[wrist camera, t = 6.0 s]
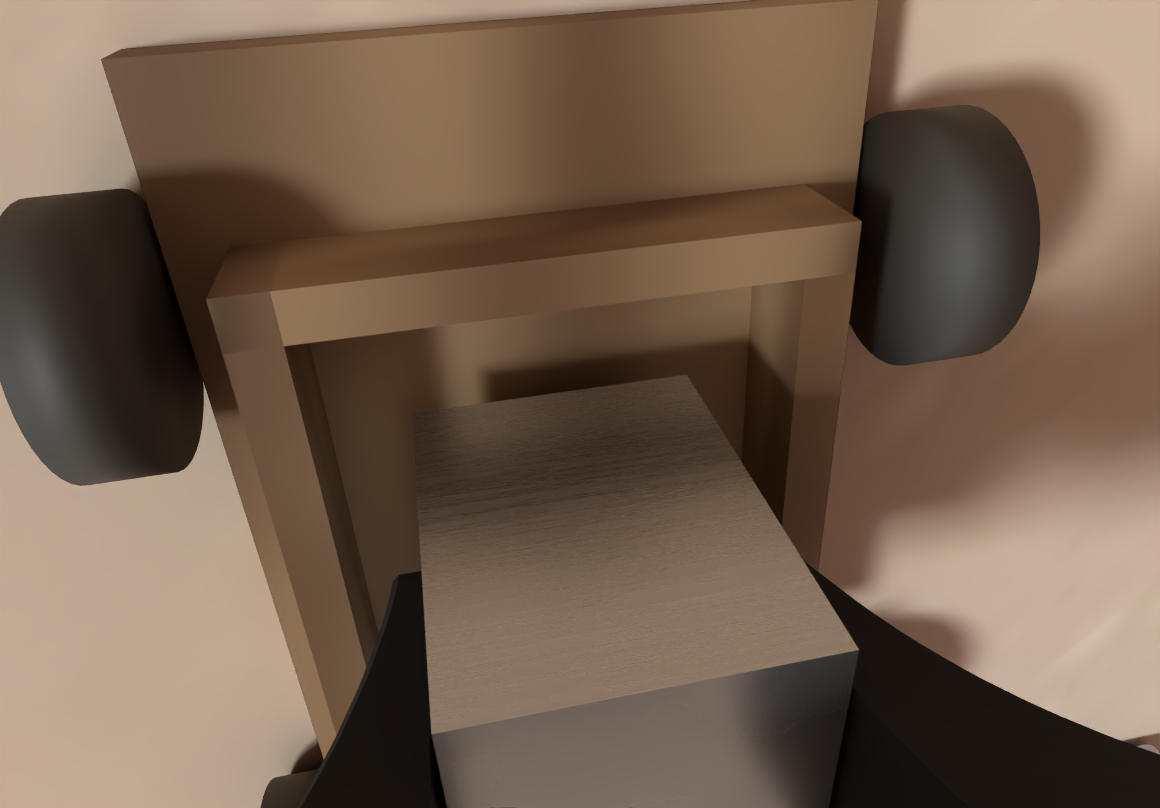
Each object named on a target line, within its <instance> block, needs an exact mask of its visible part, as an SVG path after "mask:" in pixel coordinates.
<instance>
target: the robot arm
mask: <svg viewBox="0 0 1160 808" xmlns="http://www.w3.org/2000/svg"><path fill="white" fill-rule="evenodd" d="M803 561H804V560H803ZM804 563H805V564H806V566H807V567H808V569H809V571H810V572H811V574H812V575H813V577H814V579H815V580H816V582H817V583H818V585H819V587H820V588H821V590H822V591H823V593H824V594H825V596H826V598H827V599H828V601H829V602H830V604H831V606H832V607H833V609H834V610H835V612H836V614H837V615H838V617H839V618H840V620H841V622H842V623H843V625H844V626H845V628H846V630H847V631H848V633H849V634H850V636H851V638H852V639H853V641H854V642H855V644H856V646H857V647H858V649H859V654H858V659H857V664H856V669H855V675H854V680H853V685H852V690H851V695H850V700H849V705H848V711H847V716H846V721H845V726H844V731H843V736H842V742H841V747H840V752H839V757H838V762H837V767H836V773H835V778H834V783H833V788H832V793H831V798H830V803H829V808H1160V752H1159V751H1158V750H1157V749H1156V748H1155V747H1154V746H1153V745H1150V744H1145V745H1139V746H1135V745H1132V744H1129V743H1126V742H1123V741H1120V740H1117V739H1115V738H1112V737H1110V736H1107V735H1104V734H1102V733H1100V732H1097V731H1095V730H1092V729H1090V728H1087V727H1085V726H1083V725H1080V724H1078V723H1075V722H1073V721H1071V720H1068V719H1066V718H1063V717H1061V716H1059V715H1056V714H1054V713H1052V712H1050V711H1047V710H1045V709H1043V708H1041V707H1038V706H1036V705H1034V704H1032V703H1030V702H1027V701H1025V700H1023V699H1021V698H1019V697H1017V696H1015V695H1013V694H1011V693H1009V692H1007V691H1005V690H1003V689H1001V688H999V687H997V686H995V685H993V684H991V683H989V682H987V681H985V680H983V679H981V678H979V677H977V676H975V675H974V674H972V673H970V672H968V671H966V670H964V669H962V668H961V667H959V666H957V665H955V664H954V663H952V662H950V661H948V660H947V659H945V658H943V657H942V656H940V655H938V654H936V653H935V652H933V651H931V650H930V649H928V648H926V647H925V646H923V645H921V644H919V643H918V642H916V641H915V640H913V639H911V638H910V637H908V636H907V635H905V634H904V633H902V632H900V631H899V630H897V629H896V628H895V627H893V626H892V625H890V624H889V623H887V622H886V621H884V620H883V619H881V618H880V617H878V616H877V615H875V614H874V613H872V612H871V611H870V610H868V609H867V608H865V607H864V606H862V605H861V604H860V603H858V602H857V601H856V600H854V599H853V598H852V597H850V596H849V595H848V594H846V593H845V592H844V591H842V590H841V589H840V588H838V587H837V586H836V585H835V584H833V583H832V582H831V581H829V580H828V579H827V578H825V577H824V576H823V575H821V574H820V573H819V572H818V571H816V570H815V569H814V568H813V567H811V566H810V565H809V564H808V563H807V562H805V561H804ZM296 808H447V805H446V800H445V795H444V791H443V786H442V781H441V777H440V772H439V767H438V763H437V758H436V753H435V748H434V744H433V739H432V734H431V718H430V702H429V685H428V669H427V653H426V636H425V620H424V603H423V587H422V571H418V572H412V573H406V574H400V575H398V576H397V577H396V578H395V580H394V581H393V582H392V587H391V593H390V597H389V601H388V605H387V609H386V612H385V616H384V619H383V622H382V625H381V628H380V631H379V634H378V637H377V640H376V643H375V646H374V649H373V651H372V654H371V657H370V659H369V662H368V664H367V667H366V669H365V672H364V675H363V677H362V680H361V682H360V685H359V687H358V689H357V692H356V694H355V696H354V698H353V701H352V703H351V705H350V707H349V709H348V711H347V714H346V716H345V718H344V720H343V722H342V724H341V727H340V729H339V731H338V733H337V735H336V737H335V739H334V741H333V743H332V745H331V747H330V749H329V751H328V753H327V755H326V757H325V759H324V760H323V762H322V764H321V766H320V768H319V770H318V771H317V773H316V775H315V777H314V778H313V780H312V782H311V784H310V786H309V787H308V789H307V791H306V793H305V794H304V796H303V798H302V799H301V801H300V803H299V804H298V806H297V807H296Z"/></svg>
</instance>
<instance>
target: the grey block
mask: <svg viewBox="0 0 1160 808" xmlns="http://www.w3.org/2000/svg"><path fill="white" fill-rule="evenodd" d="M412 422H413V439H414V455H415V472H416V488H417V505H418V521H419V537H420V554H421V570H422V587H423V603H424V620H425V636H426V653H427V669H428V685H429V702H430V718H431V734H432V739H433V744H434V748H435V753H436V758H437V763H438V767H439V772H440V777H441V781H442V786H443V791H444V795H445V800H446V805H447V808H829V803H830V798H831V793H832V788H833V783H834V778H835V773H836V767H837V762H838V757H839V752H840V747H841V742H842V736H843V731H844V726H845V721H846V716H847V711H848V705H849V700H850V695H851V690H852V685H853V680H854V675H855V669H856V664H857V659H858V654H859V649H858V647H857V646H856V644H855V642H854V641H853V639H852V638H851V636H850V634H849V633H848V631H847V630H846V628H845V626H844V625H843V623H842V622H841V620H840V618H839V617H838V615H837V614H836V612H835V610H834V609H833V607H832V606H831V604H830V602H829V601H828V599H827V598H826V596H825V594H824V593H823V591H822V590H821V588H820V587H819V585H818V583H817V582H816V580H815V579H814V577H813V575H812V574H811V572H810V571H809V569H808V567H807V566H806V564H805V563H804V561H803V559H802V558H801V556H800V555H799V553H798V551H797V550H796V548H795V547H794V545H793V543H792V542H791V540H790V539H789V537H788V536H787V534H786V532H785V531H784V529H783V528H782V526H781V524H780V523H779V521H778V520H777V518H776V516H775V515H774V513H773V512H772V510H771V508H770V507H769V505H768V504H767V502H766V500H765V499H764V497H763V496H762V494H761V492H760V491H759V489H758V488H757V486H756V484H755V483H754V481H753V480H752V478H751V477H750V475H749V473H748V472H747V470H746V469H745V467H744V465H743V464H742V462H741V461H740V459H739V457H738V456H737V454H736V453H735V451H734V449H733V448H732V446H731V445H730V443H729V441H728V440H727V438H726V437H725V435H724V433H723V432H722V430H721V429H720V427H719V425H718V424H717V422H716V421H715V419H714V418H713V416H712V414H711V413H710V411H709V410H708V408H707V406H706V405H705V403H704V402H703V400H702V398H701V397H700V395H699V394H698V392H697V390H696V389H695V387H694V386H693V384H692V382H691V381H690V379H689V378H688V376H687V375H680V376H673V377H666V378H659V379H652V380H645V381H638V382H631V383H624V384H617V385H610V386H603V387H595V388H588V389H581V390H574V391H567V392H560V393H553V394H546V395H539V396H532V397H525V398H518V399H511V400H504V401H497V402H489V403H482V404H475V405H468V406H461V407H454V408H447V409H440V410H433V411H426V412H419V413H412Z"/></svg>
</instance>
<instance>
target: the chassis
mask: <svg viewBox="0 0 1160 808" xmlns="http://www.w3.org/2000/svg"><path fill="white" fill-rule="evenodd" d="M877 8H878V0H756V1H743V2H730V3H717V4H704V5H691V6H678V7H665V8H651V9H638V10H625V11H612V12H599V13H586V14H573V15H560V16H547V17H534V18H521V19H508V20H495V21H482V22H469V23H456V24H443V25H430V26H417V27H404V28H391V29H378V30H365V31H352V32H338V33H325V34H312V35H299V36H286V37H273V38H260V39H247V40H234V41H221V42H208V43H195V44H182V45H169V46H156V47H143V48H130V49H121V50H119V51H117V52H115V53H113V54H111V55H109V56H107V57H105V58H103V59H101V61H102V64H103V67H104V70H105V74H106V77H107V80H108V83H109V86H110V89H111V92H112V96H113V99H114V102H115V105H116V108H117V111H118V114H119V118H120V121H121V124H122V127H123V130H124V133H125V136H126V140H127V143H128V146H129V149H130V152H131V155H132V158H133V162H134V165H135V168H136V171H137V174H138V177H139V180H140V184H141V187H142V190H143V193H144V196H145V199H146V202H147V203H146V202H145V201H144V200H143V199H142V198H141V197H140V196H139V195H138V194H136V193H135V192H133V191H131V190H128V189H113V190H103V191H92V192H82V193H72V194H62V195H52V196H42V197H32V198H25V199H20V200H17V201H16V202H14V203H12V204H10V205H9V206H8V207H7V208H6V209H5V210H4V211H3V213H2V215H1V216H0V382H1V385H2V388H3V391H4V394H5V397H6V399H7V402H8V404H9V406H10V409H11V411H12V414H13V416H14V418H15V420H16V422H17V424H18V426H19V428H20V430H21V432H22V434H23V435H24V437H25V438H26V440H27V442H28V443H29V445H30V446H31V448H32V449H33V451H34V452H35V453H36V455H37V456H38V457H39V459H40V460H41V461H42V462H43V463H44V464H45V465H46V466H47V467H48V468H49V469H50V470H51V471H52V472H53V473H54V474H56V475H57V476H58V477H60V478H61V479H63V480H65V481H67V482H69V483H71V484H75V485H80V486H82V485H93V484H100V483H106V482H113V481H120V480H127V479H134V478H140V477H147V476H154V475H161V474H168V473H174V472H179V471H181V470H184V469H185V468H186V467H187V466H188V465H189V464H190V462H191V461H192V459H193V457H194V455H195V452H196V450H197V447H198V443H199V440H200V435H201V429H202V421H203V406H204V387H203V382H204V385H205V388H206V391H207V394H208V397H209V401H210V404H211V407H212V410H213V413H214V416H215V419H216V423H217V426H218V429H219V432H220V435H221V438H222V441H223V445H224V448H225V451H226V454H227V457H228V460H229V463H230V467H231V470H232V473H233V476H234V479H235V482H236V485H237V489H238V492H239V495H240V498H241V501H242V504H243V507H244V511H245V514H246V517H247V520H248V523H249V526H250V529H251V533H252V536H253V539H254V542H255V545H256V548H257V551H258V555H259V558H260V561H261V564H262V567H263V570H264V573H265V577H266V580H267V583H268V586H269V589H270V592H271V595H272V599H273V602H274V605H275V608H276V611H277V614H278V617H279V621H280V624H281V627H282V630H283V633H284V636H285V639H286V643H287V646H288V649H289V652H290V655H291V658H292V661H293V665H294V668H295V671H296V674H297V677H298V680H299V683H300V687H301V690H302V693H303V696H304V699H305V702H306V705H307V709H308V712H309V715H310V718H311V721H312V724H313V727H314V731H315V734H316V737H317V740H318V743H319V746H320V749H321V753H322V756H323V759H325V757H326V755H327V753H328V751H329V749H330V747H331V745H332V743H333V741H334V739H335V737H336V735H337V733H338V731H339V729H340V727H341V724H342V722H343V720H344V718H345V716H346V714H347V711H348V709H349V707H350V705H351V703H352V701H353V698H354V696H355V694H356V692H357V689H358V687H359V685H360V682H361V680H362V677H363V675H364V672H365V669H366V667H367V664H368V662H369V659H370V657H371V654H372V651H373V649H374V646H375V643H376V640H377V637H378V634H379V631H380V628H381V625H382V622H383V619H384V616H385V612H386V609H387V605H388V601H389V597H390V593H391V587H392V582H393V581H394V580H395V578H396V577H397V576H398V575H400V574H406V573H412V572H418V571H422V570H421V554H420V537H419V521H418V505H417V488H416V472H415V455H414V439H413V422H412V413H419V412H426V411H433V410H440V409H447V408H454V407H461V406H468V405H475V404H482V403H489V402H497V401H504V400H511V399H518V398H525V397H532V396H539V395H546V394H553V393H560V392H567V391H574V390H581V389H588V388H595V387H603V386H610V385H617V384H624V383H631V382H638V381H645V380H652V379H659V378H666V377H673V376H680V375H687V376H688V378H689V379H690V381H691V382H692V384H693V386H694V387H695V389H696V390H697V392H698V394H699V395H700V397H701V398H702V400H703V402H704V403H705V405H706V406H707V408H708V410H709V411H710V413H711V414H712V416H713V418H714V419H715V421H716V422H717V424H718V425H719V427H720V429H721V430H722V432H723V433H724V435H725V437H726V438H727V440H728V441H729V443H730V445H731V446H732V448H733V449H734V451H735V453H736V454H737V456H738V457H739V459H740V461H741V462H742V464H743V465H744V467H745V469H746V470H747V472H748V473H749V475H750V477H751V478H752V480H753V481H754V483H755V484H756V486H757V488H758V489H759V491H760V492H761V494H762V496H763V497H764V499H765V500H766V502H767V504H768V505H769V507H770V508H771V510H772V512H773V513H774V515H775V516H776V518H777V520H778V521H779V523H780V524H781V526H782V528H783V529H784V531H785V532H786V534H787V536H788V537H789V539H790V540H791V542H792V543H793V545H794V547H795V548H796V550H797V551H798V553H799V555H800V556H801V558H802V559H803V560H804V561H805V562H807V563H808V564H809V565H810V566H811V567H813V568H814V569H815V570H816V571H818V567H819V559H820V551H821V543H822V535H823V527H824V519H825V512H826V504H827V496H828V488H829V480H830V472H831V464H832V456H833V448H834V440H835V432H836V424H837V416H838V408H839V400H840V392H841V384H842V376H843V368H844V360H845V352H846V344H847V336H848V328H849V323H850V325H851V327H852V329H853V331H854V332H855V334H856V336H857V337H858V339H859V340H860V341H861V343H862V344H863V345H864V346H865V347H866V348H867V349H868V351H869V352H870V353H872V354H873V355H874V356H875V357H877V358H878V359H880V360H882V361H884V362H886V363H889V364H892V365H910V364H917V363H924V362H930V361H937V360H944V359H951V358H958V357H964V356H971V355H976V354H981V353H983V352H985V351H987V350H990V349H991V348H993V347H994V346H996V345H997V344H998V343H1000V342H1001V341H1002V340H1003V339H1004V338H1005V337H1006V336H1007V335H1008V334H1009V333H1010V331H1011V330H1012V329H1013V327H1014V326H1015V325H1016V323H1017V321H1018V320H1019V318H1020V316H1021V314H1022V313H1023V311H1024V308H1025V306H1026V304H1027V301H1028V299H1029V296H1030V293H1031V290H1032V287H1033V283H1034V280H1035V275H1036V270H1037V265H1038V257H1039V247H1040V219H1039V207H1038V201H1037V195H1036V190H1035V185H1034V182H1033V178H1032V175H1031V171H1030V168H1029V166H1028V163H1027V161H1026V158H1025V156H1024V154H1023V152H1022V150H1021V148H1020V146H1019V144H1018V143H1017V141H1016V139H1015V138H1014V137H1013V135H1012V134H1011V132H1010V131H1009V130H1008V128H1007V127H1006V126H1005V125H1004V124H1003V123H1002V122H1001V121H1000V120H999V119H998V118H996V117H995V116H993V115H992V114H990V113H989V112H987V111H985V110H983V109H981V108H978V107H974V106H969V105H959V106H948V107H938V108H928V109H918V110H908V111H897V112H887V113H883V114H880V115H877V116H875V117H873V118H872V119H870V120H869V121H867V122H866V123H865V124H864V117H865V108H866V100H867V92H868V83H869V75H870V66H871V58H872V50H873V41H874V33H875V24H876V16H877ZM318 770H319V769H316V770H311V771H306V772H301V773H296V774H291V775H286V776H281V777H276V778H273V779H272V780H271V781H270V782H269V784H268V786H267V788H266V790H265V793H264V796H263V800H262V804H261V808H296V807H297V806H298V804H299V803H300V801H301V799H302V798H303V796H304V794H305V793H306V791H307V789H308V787H309V786H310V784H311V782H312V780H313V778H314V777H315V775H316V773H317V771H318Z"/></svg>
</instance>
